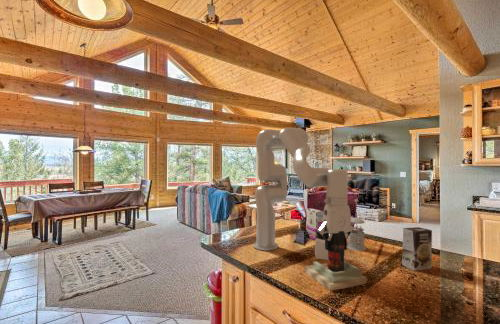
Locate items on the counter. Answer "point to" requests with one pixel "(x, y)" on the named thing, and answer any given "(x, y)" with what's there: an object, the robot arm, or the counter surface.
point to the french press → (356, 234)
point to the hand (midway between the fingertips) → (335, 249)
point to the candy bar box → (314, 222)
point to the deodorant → (336, 252)
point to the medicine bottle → (320, 247)
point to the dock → (336, 276)
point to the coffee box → (417, 248)
